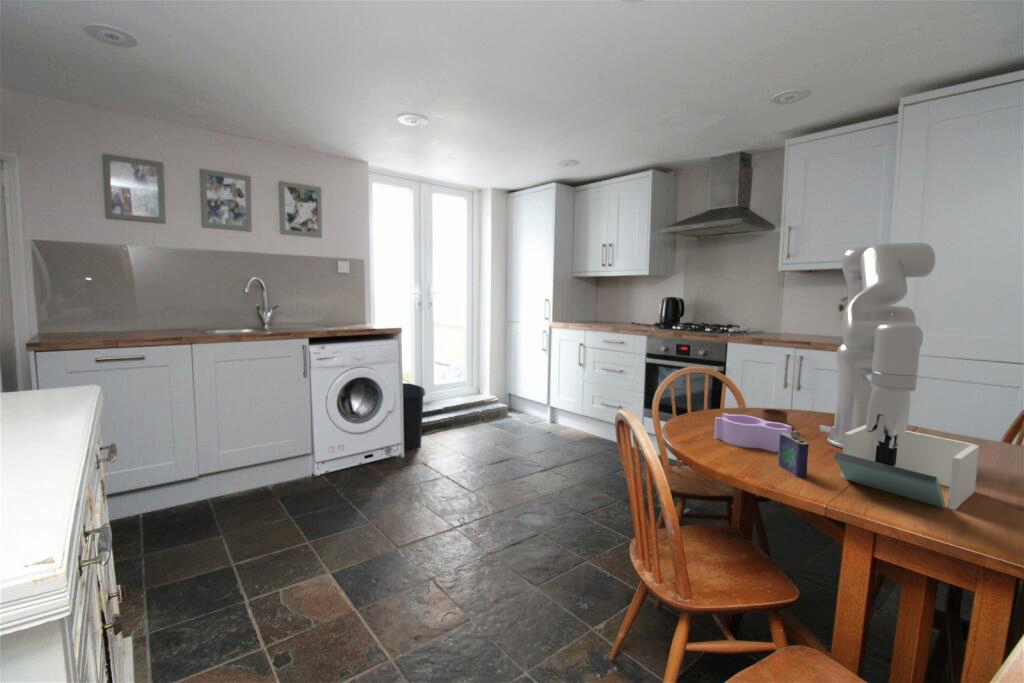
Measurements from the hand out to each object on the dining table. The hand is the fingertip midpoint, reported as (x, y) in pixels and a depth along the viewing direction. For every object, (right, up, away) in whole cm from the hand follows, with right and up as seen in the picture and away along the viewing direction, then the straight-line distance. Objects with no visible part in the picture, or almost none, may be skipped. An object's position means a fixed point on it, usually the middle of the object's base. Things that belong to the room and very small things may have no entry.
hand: (885, 464), depth 102 cm
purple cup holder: (-7, -5, +42) cm, 43 cm away
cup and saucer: (+8, -3, +57) cm, 57 cm away
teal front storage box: (+12, -8, +10) cm, 18 cm away
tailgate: (+6, -8, +5) cm, 11 cm away
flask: (-10, -7, +17) cm, 21 cm away
